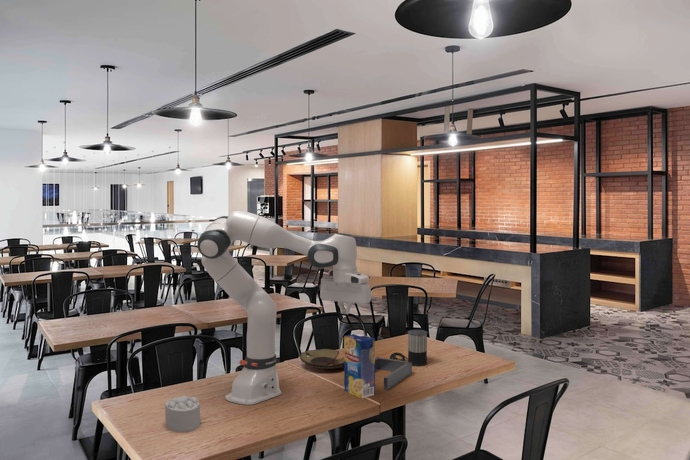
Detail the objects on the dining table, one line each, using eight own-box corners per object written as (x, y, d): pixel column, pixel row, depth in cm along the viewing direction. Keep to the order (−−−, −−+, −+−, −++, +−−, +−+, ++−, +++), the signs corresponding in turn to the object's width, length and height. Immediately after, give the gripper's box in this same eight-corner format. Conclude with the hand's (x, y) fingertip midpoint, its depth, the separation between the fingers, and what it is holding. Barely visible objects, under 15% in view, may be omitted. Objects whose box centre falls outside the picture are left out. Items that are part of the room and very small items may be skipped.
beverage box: (358, 387, 219) (357, 333, 218) (375, 394, 210) (374, 338, 209) (344, 390, 215) (343, 335, 214) (361, 398, 206) (360, 341, 205)
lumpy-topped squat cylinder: (192, 415, 191) (192, 391, 190) (205, 427, 180) (205, 402, 180) (162, 422, 185) (162, 397, 185) (173, 435, 174) (173, 408, 174)
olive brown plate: (331, 356, 264) (331, 341, 264) (367, 372, 239) (367, 355, 239) (290, 364, 252) (290, 347, 252) (323, 381, 227) (323, 363, 227)
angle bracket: (387, 390, 215) (387, 378, 215) (349, 383, 223) (349, 371, 223) (411, 373, 237) (411, 362, 236) (376, 367, 245) (376, 356, 245)
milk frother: (431, 365, 249) (431, 333, 248) (400, 369, 243) (400, 336, 243) (416, 357, 262) (416, 326, 262) (386, 360, 257) (386, 329, 256)
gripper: (316, 276, 203) (317, 312, 204) (365, 279, 193) (365, 317, 194) (325, 274, 209) (325, 309, 210) (373, 277, 199) (373, 314, 199)
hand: (345, 313), depth 202 cm, fingers closed
